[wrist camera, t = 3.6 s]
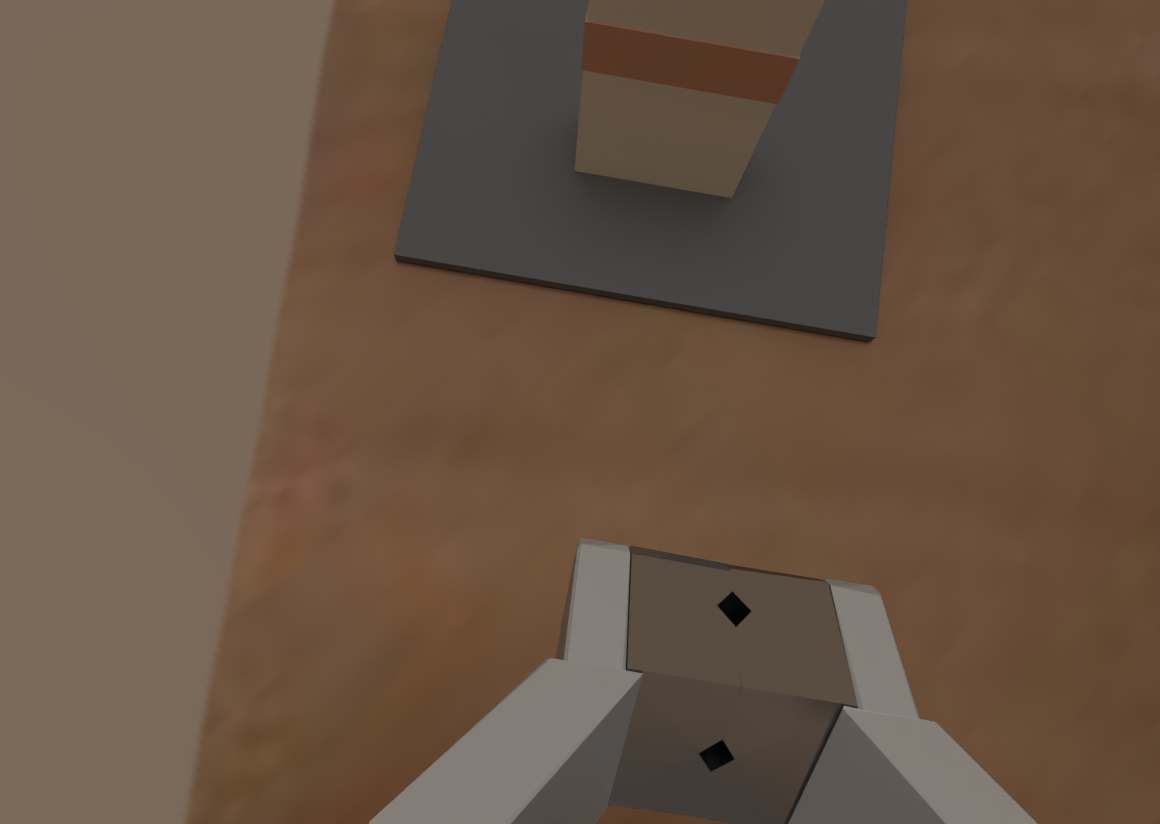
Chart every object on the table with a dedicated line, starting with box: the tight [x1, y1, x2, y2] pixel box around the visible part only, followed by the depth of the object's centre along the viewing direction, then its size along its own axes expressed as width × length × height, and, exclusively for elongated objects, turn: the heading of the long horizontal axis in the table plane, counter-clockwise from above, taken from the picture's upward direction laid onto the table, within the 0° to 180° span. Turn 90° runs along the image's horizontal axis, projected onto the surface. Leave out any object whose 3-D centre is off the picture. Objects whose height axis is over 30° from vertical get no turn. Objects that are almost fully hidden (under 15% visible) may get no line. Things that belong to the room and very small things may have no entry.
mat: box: [394, 0, 907, 342], centre depth 37 cm, size 19×22×1 cm
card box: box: [574, 0, 825, 198], centre depth 29 cm, size 6×2×12 cm, turn 81°
